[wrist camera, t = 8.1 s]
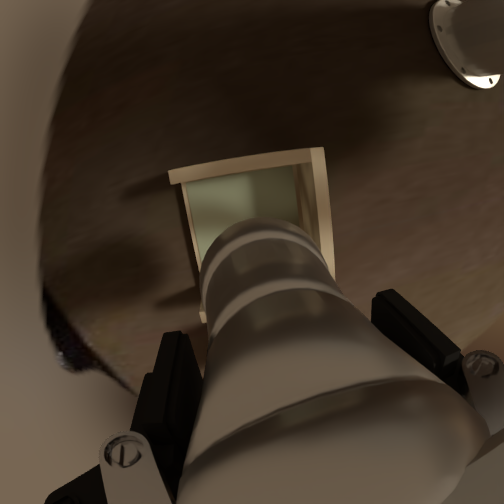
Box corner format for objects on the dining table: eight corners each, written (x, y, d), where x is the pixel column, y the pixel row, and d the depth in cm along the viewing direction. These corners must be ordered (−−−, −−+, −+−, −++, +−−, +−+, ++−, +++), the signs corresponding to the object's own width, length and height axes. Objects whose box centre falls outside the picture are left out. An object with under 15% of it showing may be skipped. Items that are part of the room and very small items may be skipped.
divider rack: (179, 167, 25) (168, 170, 20) (302, 148, 26) (323, 146, 20) (226, 376, 33) (228, 412, 27) (320, 358, 33) (336, 391, 28)
